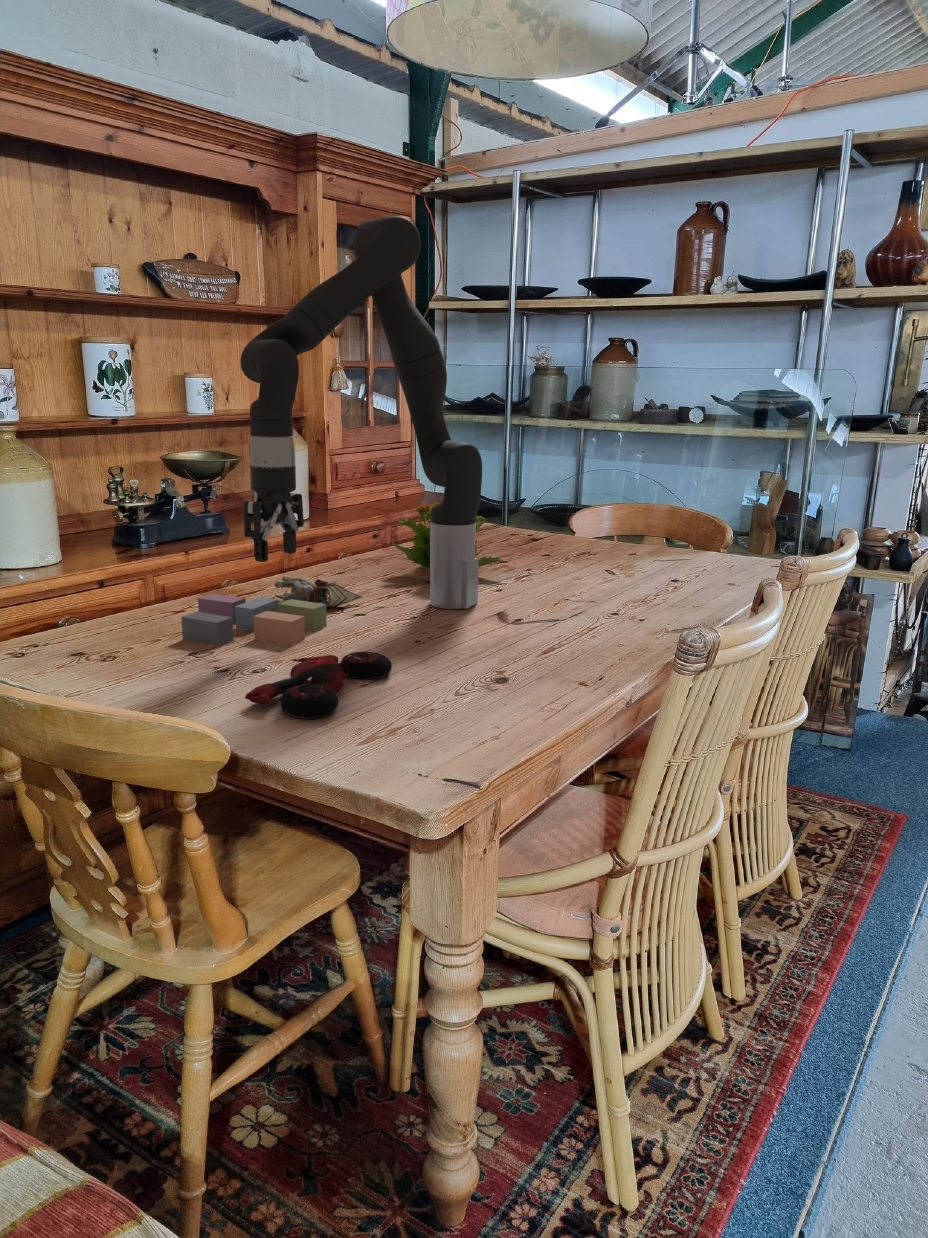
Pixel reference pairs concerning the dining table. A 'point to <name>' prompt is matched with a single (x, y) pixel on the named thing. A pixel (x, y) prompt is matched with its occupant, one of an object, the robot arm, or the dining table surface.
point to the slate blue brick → (253, 611)
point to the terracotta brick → (279, 627)
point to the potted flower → (422, 539)
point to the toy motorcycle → (320, 682)
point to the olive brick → (306, 612)
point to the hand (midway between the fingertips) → (276, 557)
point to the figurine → (315, 591)
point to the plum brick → (220, 605)
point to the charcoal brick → (207, 628)
